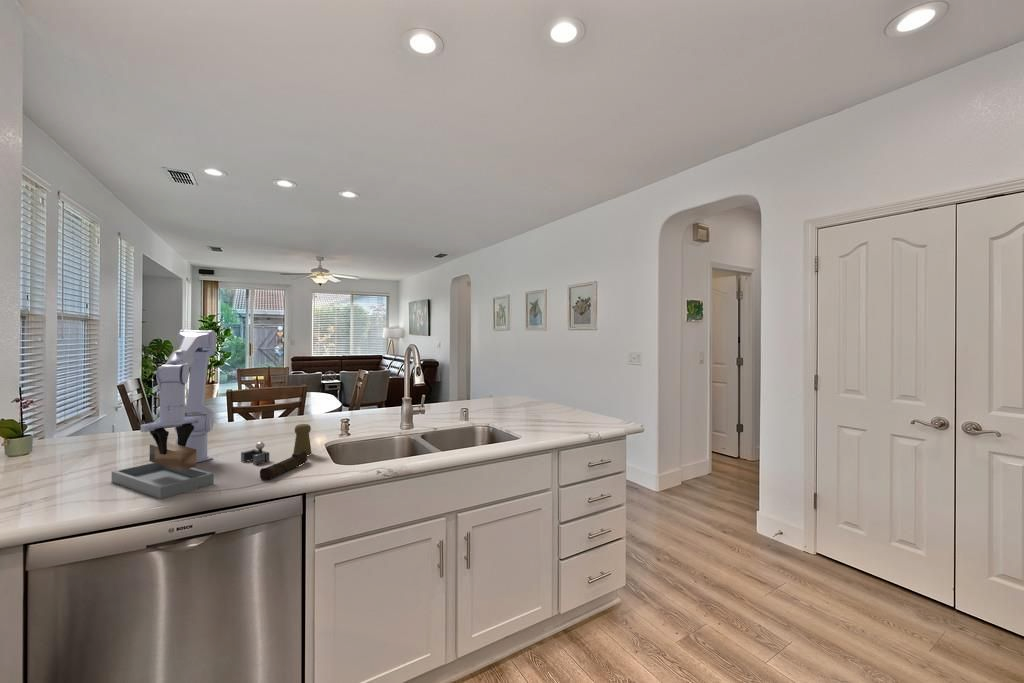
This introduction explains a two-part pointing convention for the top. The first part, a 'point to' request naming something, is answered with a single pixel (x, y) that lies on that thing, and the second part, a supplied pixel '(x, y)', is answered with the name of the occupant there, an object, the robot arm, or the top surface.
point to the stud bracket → (256, 454)
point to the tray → (161, 479)
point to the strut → (174, 456)
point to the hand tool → (283, 465)
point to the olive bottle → (302, 439)
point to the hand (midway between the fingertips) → (172, 452)
